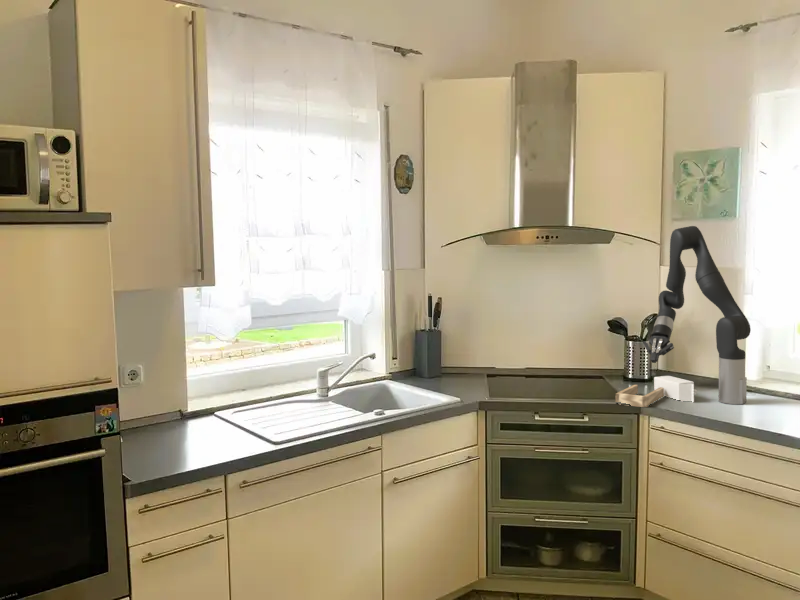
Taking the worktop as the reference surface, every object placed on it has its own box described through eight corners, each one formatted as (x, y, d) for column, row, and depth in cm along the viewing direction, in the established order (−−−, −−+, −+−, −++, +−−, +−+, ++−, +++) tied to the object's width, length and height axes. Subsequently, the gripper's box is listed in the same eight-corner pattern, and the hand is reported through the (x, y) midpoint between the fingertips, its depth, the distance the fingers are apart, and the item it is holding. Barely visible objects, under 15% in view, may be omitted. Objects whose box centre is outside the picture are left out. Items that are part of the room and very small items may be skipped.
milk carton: (653, 393, 282) (686, 403, 264) (653, 376, 281) (686, 385, 263) (668, 392, 284) (701, 401, 266) (668, 375, 283) (701, 383, 265)
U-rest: (663, 397, 275) (663, 387, 274) (646, 407, 259) (646, 397, 259) (634, 394, 282) (634, 384, 282) (615, 403, 266) (615, 393, 266)
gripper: (645, 322, 293) (635, 355, 284) (677, 324, 285) (667, 357, 276) (649, 333, 297) (639, 365, 289) (680, 335, 289) (671, 368, 281)
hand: (653, 361), depth 283 cm, fingers closed
